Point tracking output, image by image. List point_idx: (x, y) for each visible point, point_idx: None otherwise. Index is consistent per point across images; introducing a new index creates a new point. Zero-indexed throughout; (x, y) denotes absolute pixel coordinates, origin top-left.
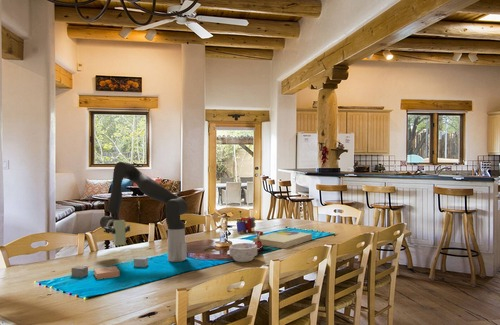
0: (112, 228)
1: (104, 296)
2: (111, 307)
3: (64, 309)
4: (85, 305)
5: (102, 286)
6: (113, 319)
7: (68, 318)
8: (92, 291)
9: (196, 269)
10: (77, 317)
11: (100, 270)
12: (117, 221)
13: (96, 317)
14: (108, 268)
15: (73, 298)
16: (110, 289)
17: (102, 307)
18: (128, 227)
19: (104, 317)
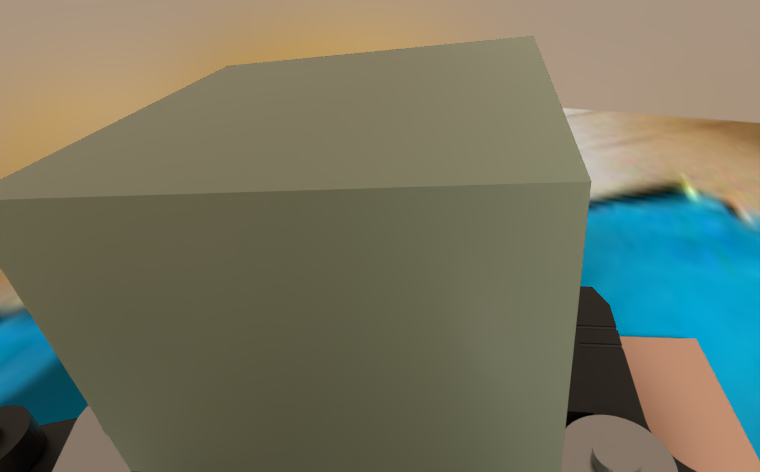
0: (607, 417)
1: (611, 186)
2: (585, 140)
3: (739, 150)
4: (671, 156)
5: (629, 259)
6: (582, 111)
7: (701, 122)
8: (672, 227)
9: None
10: (676, 123)
11: (682, 408)
12: (448, 48)
13: (624, 118)
14: None
15: (743, 197)
16: (587, 224)
17: (612, 143)
18: (34, 425)
19: (603, 117)
